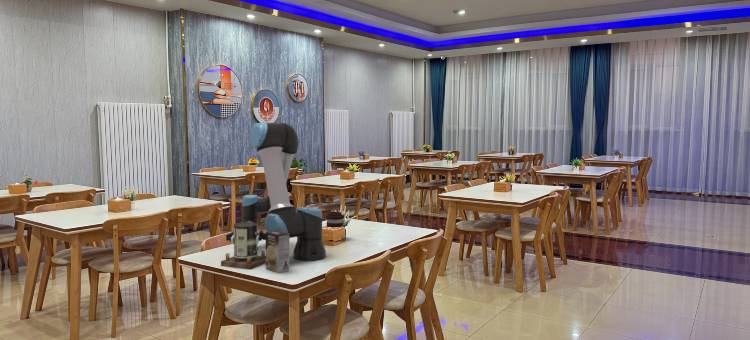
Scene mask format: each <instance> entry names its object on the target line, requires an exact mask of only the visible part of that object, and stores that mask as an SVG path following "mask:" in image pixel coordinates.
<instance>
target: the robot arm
mask: <svg viewBox="0 0 750 340" xmlns="http://www.w3.org/2000/svg"><path fill="white" fill-rule="evenodd" d="M299 141H300V140H299V135H298V132H297V131H296V129H295V128H294V127H293V126H292V125H290V124H288V123H286V122H265V121H264V122H257V123H255V124H254V125H253V126H252V127H251V130H250V133H249V144H250V146H251V148H253V149H256V152H257V153H256V154H257V155H259V156H260V157H261V162H262V167H263V172H264V177H265V183H266V188H267V194H266V195H267V196H266V197H261V198H259V195H257V194H246V195H244V196H242V201H241V202H242V203H241V205H242V208H241V209H242V211H241V212H242V218H241V220H242V221H241V223H244V222H251V223H257V237H256V244H257V245H259V242H260V241H266V232H269V231H275V230H279V231H282V232H286V233H290V234H289V239H292V238H296V243H295V245H294V248H293V252H292V257H293V259H295V260H298V261H299V260H300V261H318V260H323V259H325V258H326V255H327V254H326V253H327V251H326V248H325V245H324V242H323V219H324V218H323V211H322V210H321V209H319V208H315V207H308V206H298V207H297V208H296V210H295V206H294V205H293V204H292V203H291V202H290V196H289V192H288V188H287V187H288V186H287V182H288V178H289V174H290V171H291V167H292V164H293V160H294V158H295V157H294V156H295V155H296V154H297V153H298V149H299V145H300V144H299V143H300V142H299ZM266 213H268V214H267V215H266V217H265V221H264V226H265V230H266V232H264V230H259V226H260V225H259V214H266ZM258 230H259V231H258ZM225 239H226V240H225V241H227V242H228V241H229V242H230V245H234V230H233V231H232V232H229V233H227V234H226V235H225Z"/></svg>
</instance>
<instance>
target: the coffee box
mask: <svg viewBox="0 0 750 340" xmlns="http://www.w3.org/2000/svg"><path fill="white" fill-rule="evenodd" d="M265 234H266V240H265V256H266V263H265V270H268V271H271V272H274V273H277V274H280V273H283V272H287V271H289V270H290V238H289V234H290V233H286V232H282V231H279V230H275V231H269V232H267V231H266V232H265Z"/></svg>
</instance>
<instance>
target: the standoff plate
mask: <svg viewBox="0 0 750 340" xmlns="http://www.w3.org/2000/svg"><path fill="white" fill-rule="evenodd" d="M260 251H261V252H260V253H261V255H258V254H257V256H256V257H253V258H251V256H247V258H245V259H244V258H235V257H234V256H231V257H230V253H229V252H228V253H227V252H226V253H225V259H223V260H221V261H220V267H229V268H235V269H236V268H237V269H243V270H244V269H245V270H252V269H255V268H257V267H259V266H261V265H265V264H266V250H260Z"/></svg>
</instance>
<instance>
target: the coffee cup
mask: <svg viewBox="0 0 750 340" xmlns="http://www.w3.org/2000/svg"><path fill="white" fill-rule="evenodd" d="M325 219H326V228H327V227H341V226H342V225H343V226H344V220H345V214H342V212H341V211H329V212H328V214H326V215H325ZM342 221H343V222H342Z"/></svg>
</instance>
